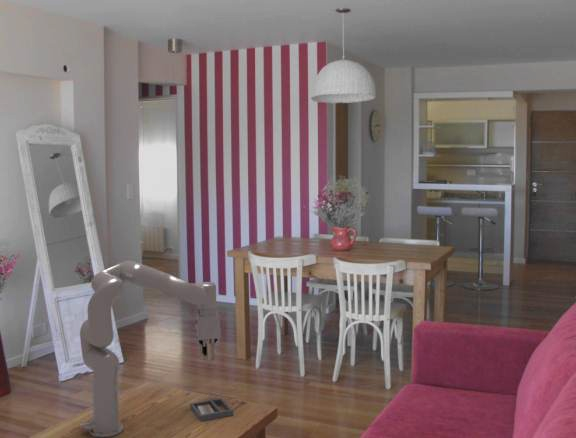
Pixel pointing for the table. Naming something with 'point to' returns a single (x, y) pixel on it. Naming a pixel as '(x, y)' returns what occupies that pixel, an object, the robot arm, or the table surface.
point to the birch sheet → (208, 352)
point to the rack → (213, 404)
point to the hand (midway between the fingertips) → (207, 354)
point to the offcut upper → (205, 409)
